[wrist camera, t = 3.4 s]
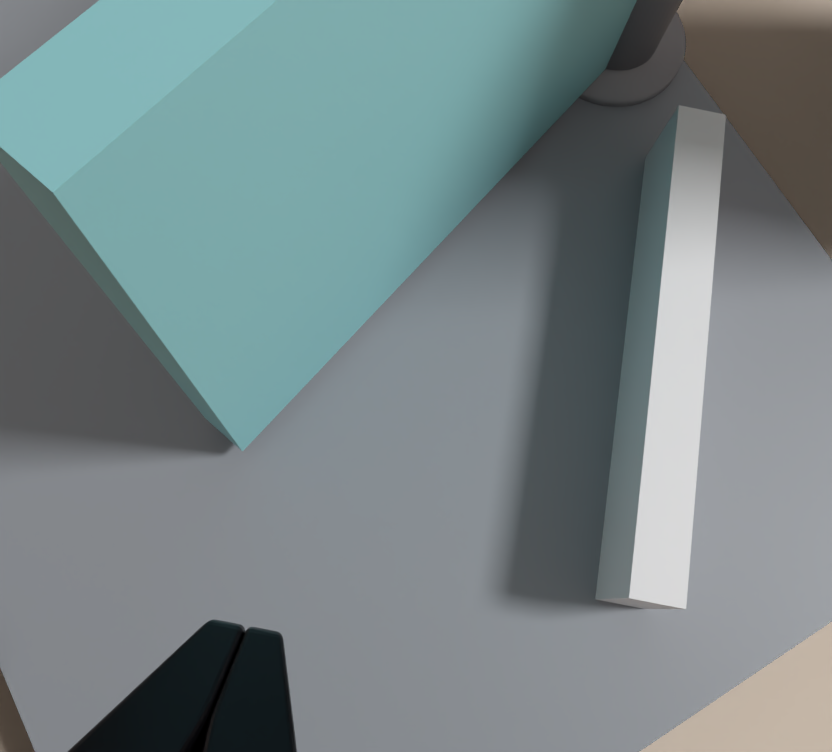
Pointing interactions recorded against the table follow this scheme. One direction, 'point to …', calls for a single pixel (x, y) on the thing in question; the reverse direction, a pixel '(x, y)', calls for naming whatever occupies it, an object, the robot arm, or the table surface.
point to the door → (287, 160)
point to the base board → (450, 457)
